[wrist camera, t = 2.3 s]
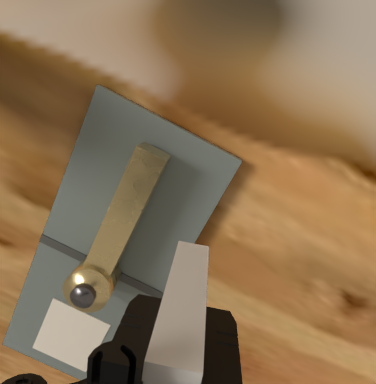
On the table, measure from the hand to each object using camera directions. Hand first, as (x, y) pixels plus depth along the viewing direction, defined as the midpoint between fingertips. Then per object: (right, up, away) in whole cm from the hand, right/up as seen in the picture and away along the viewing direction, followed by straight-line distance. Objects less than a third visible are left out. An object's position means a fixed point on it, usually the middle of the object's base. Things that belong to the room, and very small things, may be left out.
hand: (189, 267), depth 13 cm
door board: (-8, -3, +12) cm, 14 cm away
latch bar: (-5, +1, +9) cm, 10 cm away
